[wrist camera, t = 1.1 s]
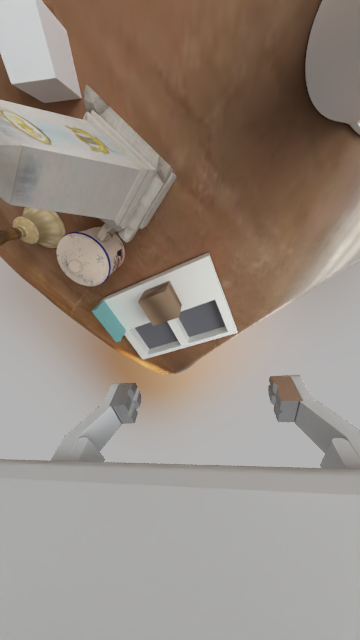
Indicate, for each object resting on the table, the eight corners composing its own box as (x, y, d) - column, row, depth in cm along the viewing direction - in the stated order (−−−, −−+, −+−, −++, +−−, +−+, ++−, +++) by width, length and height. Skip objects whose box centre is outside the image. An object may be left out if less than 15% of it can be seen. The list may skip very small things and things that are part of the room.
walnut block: (169, 280, 39) (165, 290, 34) (181, 304, 41) (179, 317, 37) (144, 290, 40) (137, 301, 36) (157, 313, 43) (153, 326, 39)
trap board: (208, 251, 38) (209, 261, 32) (235, 325, 47) (240, 343, 41) (105, 296, 46) (91, 311, 40) (145, 352, 54) (138, 371, 49)
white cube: (24, 37, 25) (-20, -2, 20) (66, 30, 25) (32, -12, 20) (44, 103, 29) (11, 84, 24) (82, 99, 28) (55, 77, 23)
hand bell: (71, 248, 40) (7, 274, 27) (34, 247, 41) (-46, 272, 28) (57, 202, 36) (-29, 206, 22) (16, 201, 36) (-91, 206, 23)
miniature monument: (181, 176, 32) (101, 104, 7) (147, 229, 37) (30, 303, 12) (126, 122, 29) (-374, -357, 4) (98, 189, 34) (-197, 172, 9)
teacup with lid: (113, 279, 43) (87, 303, 33) (76, 251, 40) (36, 269, 31) (142, 235, 37) (122, 250, 28) (102, 200, 35) (63, 202, 25)
